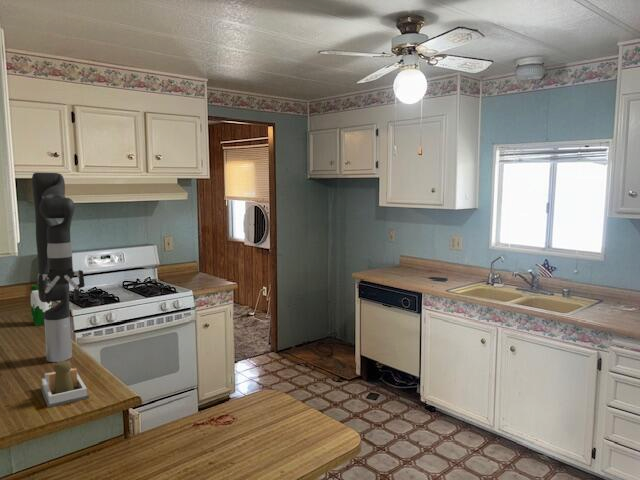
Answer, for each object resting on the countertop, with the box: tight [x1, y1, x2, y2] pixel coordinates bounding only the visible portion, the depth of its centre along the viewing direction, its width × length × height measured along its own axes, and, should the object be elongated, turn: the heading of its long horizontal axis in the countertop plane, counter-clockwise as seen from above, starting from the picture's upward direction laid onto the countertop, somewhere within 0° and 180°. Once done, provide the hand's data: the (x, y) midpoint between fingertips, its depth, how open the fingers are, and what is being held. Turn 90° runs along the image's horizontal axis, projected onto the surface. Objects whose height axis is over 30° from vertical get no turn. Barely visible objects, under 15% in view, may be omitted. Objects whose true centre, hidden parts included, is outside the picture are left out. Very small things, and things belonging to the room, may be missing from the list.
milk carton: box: [30, 284, 53, 327], centre depth 245 cm, size 9×9×20 cm
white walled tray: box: [40, 367, 90, 408], centre depth 164 cm, size 18×12×5 cm, turn 36°
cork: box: [53, 360, 74, 394], centre depth 161 cm, size 6×6×11 cm
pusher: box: [48, 368, 78, 392], centre depth 165 cm, size 4×8×6 cm, turn 126°
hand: (62, 301), depth 168 cm, fingers open, 8 cm apart
